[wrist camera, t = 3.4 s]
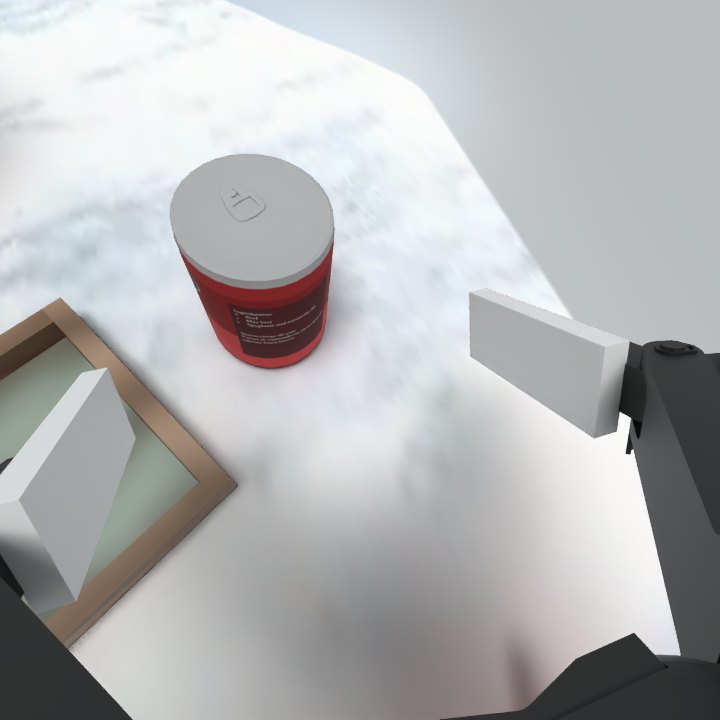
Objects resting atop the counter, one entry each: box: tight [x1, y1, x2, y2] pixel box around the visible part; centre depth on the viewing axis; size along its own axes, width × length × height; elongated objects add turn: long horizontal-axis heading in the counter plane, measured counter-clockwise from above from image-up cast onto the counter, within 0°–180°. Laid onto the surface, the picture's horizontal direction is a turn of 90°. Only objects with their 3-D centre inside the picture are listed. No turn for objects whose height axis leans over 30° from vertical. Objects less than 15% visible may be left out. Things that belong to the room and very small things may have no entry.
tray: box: [0, 298, 238, 649], centre depth 23 cm, size 16×16×2 cm
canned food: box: [170, 154, 335, 368], centre depth 25 cm, size 8×8×11 cm
